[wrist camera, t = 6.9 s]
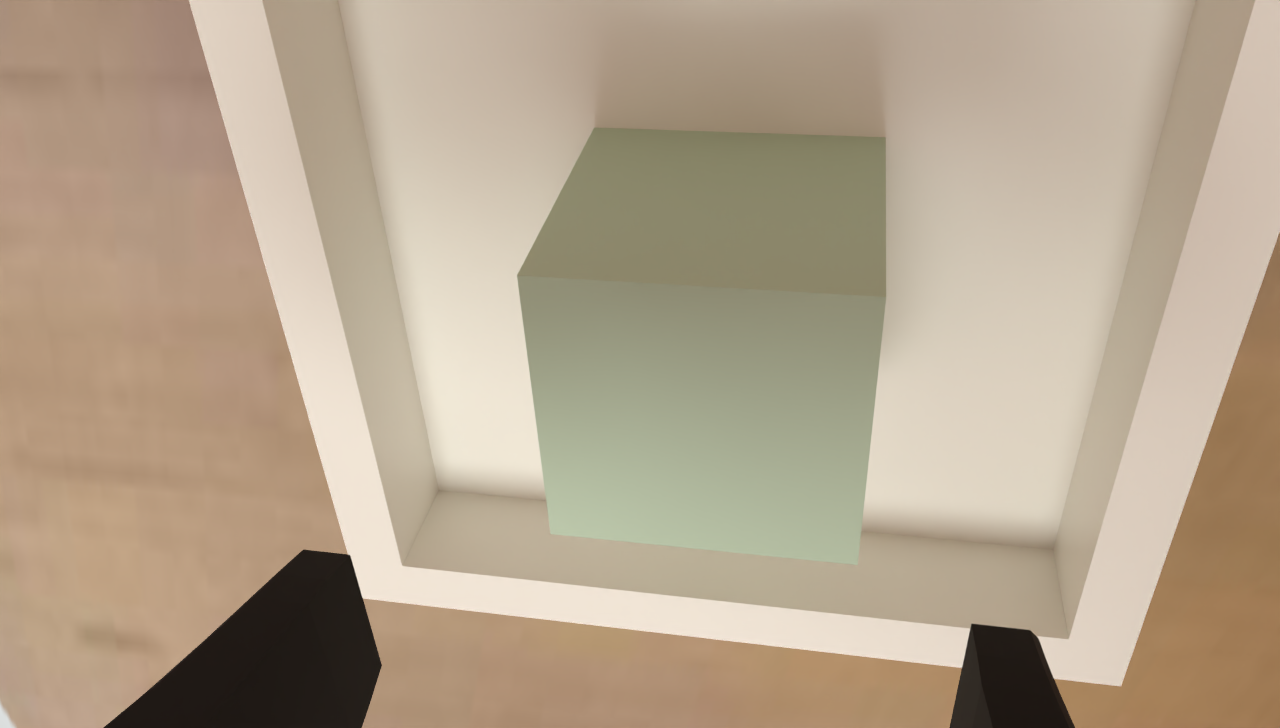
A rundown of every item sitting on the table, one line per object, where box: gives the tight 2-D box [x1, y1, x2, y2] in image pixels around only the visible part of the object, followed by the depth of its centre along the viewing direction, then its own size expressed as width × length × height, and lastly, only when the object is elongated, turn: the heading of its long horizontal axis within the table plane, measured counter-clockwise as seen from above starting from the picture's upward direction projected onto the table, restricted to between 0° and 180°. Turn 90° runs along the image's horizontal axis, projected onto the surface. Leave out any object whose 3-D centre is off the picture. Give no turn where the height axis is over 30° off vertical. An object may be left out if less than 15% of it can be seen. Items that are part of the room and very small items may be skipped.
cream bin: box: [189, 0, 1280, 686], centre depth 19 cm, size 16×16×3 cm
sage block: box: [517, 128, 886, 565], centre depth 18 cm, size 5×5×5 cm
